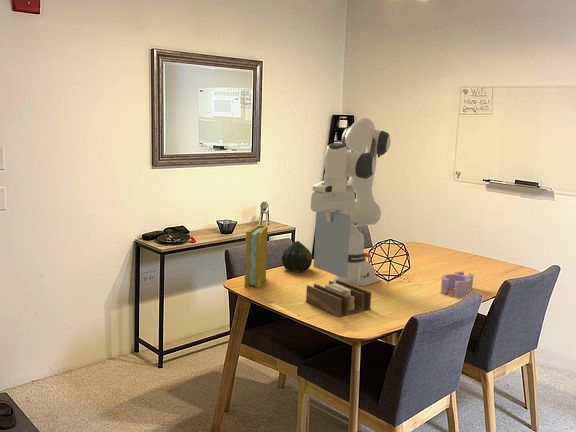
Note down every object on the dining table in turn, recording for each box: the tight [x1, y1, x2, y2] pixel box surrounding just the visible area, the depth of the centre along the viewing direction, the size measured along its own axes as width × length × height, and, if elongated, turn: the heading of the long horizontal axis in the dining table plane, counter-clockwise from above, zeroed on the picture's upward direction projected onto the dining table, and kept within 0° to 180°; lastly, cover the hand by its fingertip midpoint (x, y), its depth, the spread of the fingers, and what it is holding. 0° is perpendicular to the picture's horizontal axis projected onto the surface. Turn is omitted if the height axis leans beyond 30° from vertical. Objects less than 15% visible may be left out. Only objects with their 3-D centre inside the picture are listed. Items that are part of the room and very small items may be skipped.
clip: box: [440, 271, 474, 298], centre depth 265 cm, size 20×12×7 cm, turn 142°
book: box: [244, 224, 269, 288], centre depth 264 cm, size 17×7×25 cm, turn 168°
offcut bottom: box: [348, 303, 355, 311], centre depth 234 cm, size 5×14×2 cm, turn 37°
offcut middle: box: [348, 296, 355, 304], centre depth 233 cm, size 5×12×2 cm, turn 40°
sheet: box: [313, 211, 351, 278], centre depth 226 cm, size 2×18×24 cm, turn 38°
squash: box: [281, 240, 313, 273], centre depth 288 cm, size 14×15×15 cm
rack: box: [304, 280, 373, 319], centre depth 233 cm, size 18×21×8 cm
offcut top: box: [324, 282, 351, 297], centre depth 233 cm, size 5×10×2 cm, turn 34°
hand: (332, 221), depth 224 cm, fingers closed on sheet, 2 cm apart
